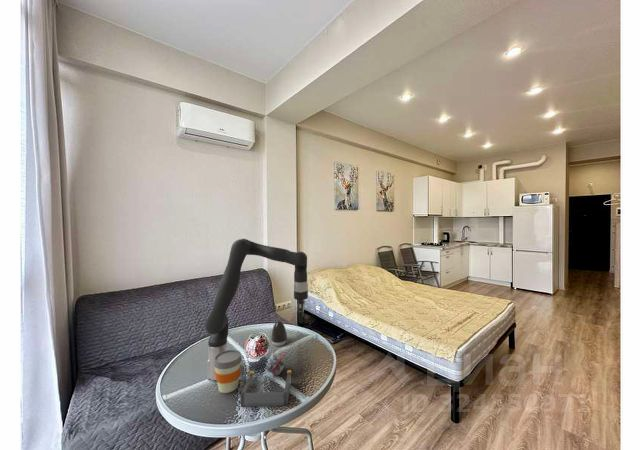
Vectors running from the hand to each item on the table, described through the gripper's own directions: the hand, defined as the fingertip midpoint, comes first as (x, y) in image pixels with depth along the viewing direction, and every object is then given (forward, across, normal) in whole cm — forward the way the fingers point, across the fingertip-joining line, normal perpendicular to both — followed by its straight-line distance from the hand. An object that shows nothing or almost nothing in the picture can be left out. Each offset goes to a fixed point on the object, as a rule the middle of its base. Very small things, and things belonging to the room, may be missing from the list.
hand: (301, 319), depth 137 cm
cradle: (+27, +19, -15) cm, 36 cm away
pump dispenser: (+27, -29, -16) cm, 43 cm away
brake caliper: (+27, +2, -14) cm, 31 cm away
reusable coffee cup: (+27, +13, -35) cm, 46 cm away
